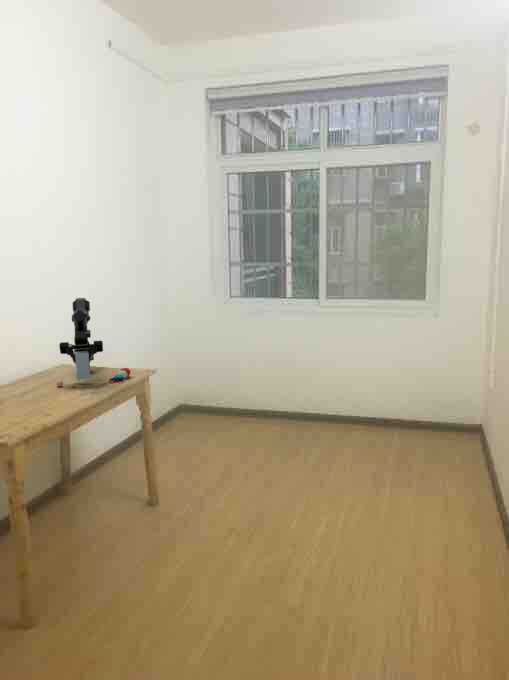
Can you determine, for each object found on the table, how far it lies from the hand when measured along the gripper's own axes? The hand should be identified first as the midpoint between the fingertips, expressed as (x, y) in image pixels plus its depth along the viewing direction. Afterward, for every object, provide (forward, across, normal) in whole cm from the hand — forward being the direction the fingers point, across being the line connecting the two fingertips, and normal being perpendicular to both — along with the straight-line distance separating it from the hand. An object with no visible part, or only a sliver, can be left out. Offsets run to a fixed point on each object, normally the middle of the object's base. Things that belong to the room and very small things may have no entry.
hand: (82, 362), depth 248 cm
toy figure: (+3, +17, +13) cm, 21 cm away
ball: (+6, -10, +9) cm, 15 cm away
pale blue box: (+4, 0, +6) cm, 8 cm away
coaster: (+7, 0, +8) cm, 11 cm away
